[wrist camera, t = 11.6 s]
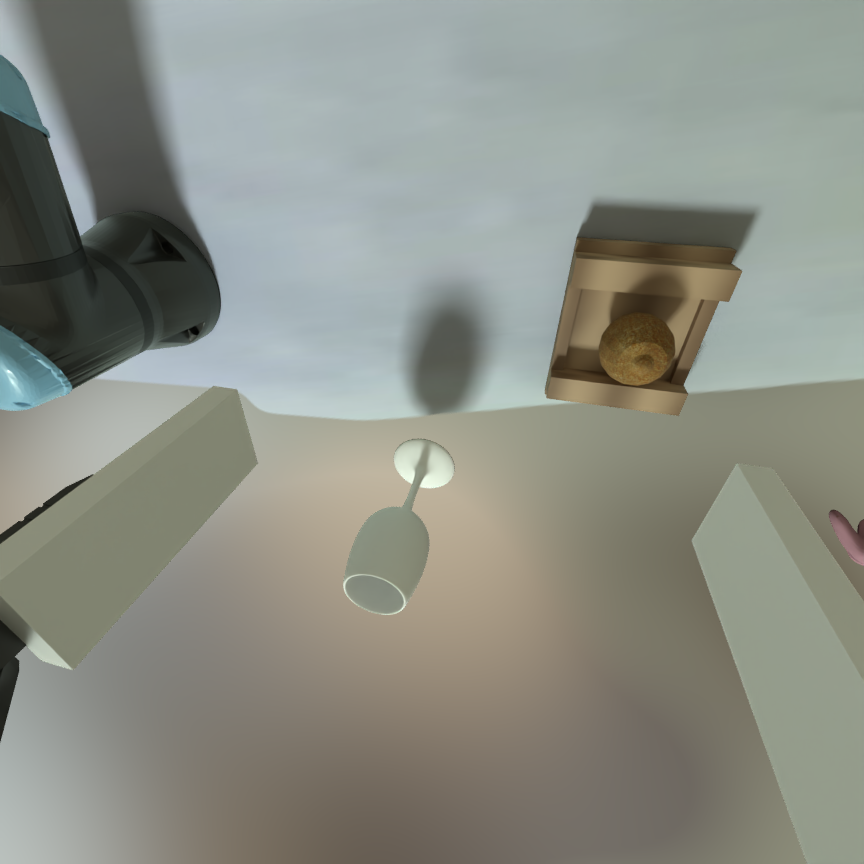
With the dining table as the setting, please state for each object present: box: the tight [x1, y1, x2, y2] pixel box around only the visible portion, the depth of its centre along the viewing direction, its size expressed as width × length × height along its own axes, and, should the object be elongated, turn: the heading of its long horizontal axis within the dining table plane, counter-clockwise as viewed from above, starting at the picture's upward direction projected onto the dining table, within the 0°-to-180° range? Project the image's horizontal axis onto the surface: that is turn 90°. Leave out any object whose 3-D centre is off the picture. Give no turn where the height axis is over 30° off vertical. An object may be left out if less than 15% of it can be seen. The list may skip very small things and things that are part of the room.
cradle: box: [545, 237, 742, 416], centre depth 40 cm, size 13×16×4 cm
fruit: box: [598, 312, 675, 386], centre depth 38 cm, size 6×6×8 cm
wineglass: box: [343, 439, 455, 615], centre depth 50 cm, size 9×9×21 cm
